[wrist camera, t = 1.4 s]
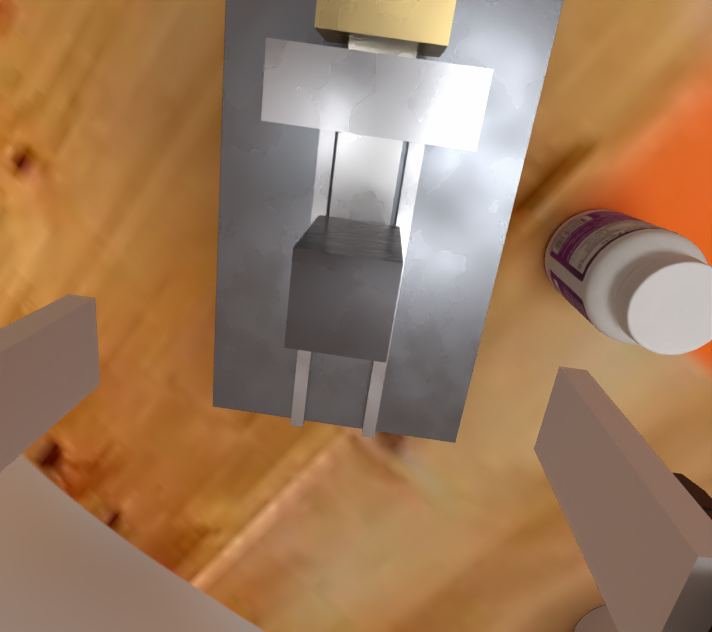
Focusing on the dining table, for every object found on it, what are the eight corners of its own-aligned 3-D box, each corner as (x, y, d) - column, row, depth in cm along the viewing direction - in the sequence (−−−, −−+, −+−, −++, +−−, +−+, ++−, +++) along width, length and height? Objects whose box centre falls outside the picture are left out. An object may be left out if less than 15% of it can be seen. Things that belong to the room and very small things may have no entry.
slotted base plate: (452, 432, 34) (469, 512, 27) (218, 396, 34) (173, 467, 27) (573, -68, 23) (650, -149, 16) (237, -114, 24) (173, -214, 17)
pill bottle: (639, 289, 29) (748, 362, 20) (546, 304, 30) (612, 381, 21) (638, 197, 28) (757, 233, 19) (539, 216, 28) (608, 259, 19)
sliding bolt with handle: (387, 285, 29) (386, 362, 19) (318, 275, 29) (284, 347, 19) (441, -45, 23) (476, -161, 14) (355, -57, 23) (331, -181, 14)
